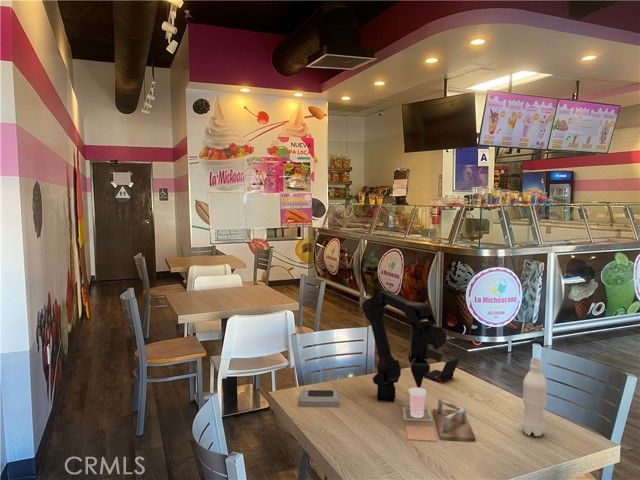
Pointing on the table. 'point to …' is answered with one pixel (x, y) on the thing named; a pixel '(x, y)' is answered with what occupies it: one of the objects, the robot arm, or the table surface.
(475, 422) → the table surface
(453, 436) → the wire board
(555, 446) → the table surface
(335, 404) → the keypad
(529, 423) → the water bottle
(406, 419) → the frame
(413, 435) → the end mat
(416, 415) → the beverage cup
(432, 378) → the dark piece
